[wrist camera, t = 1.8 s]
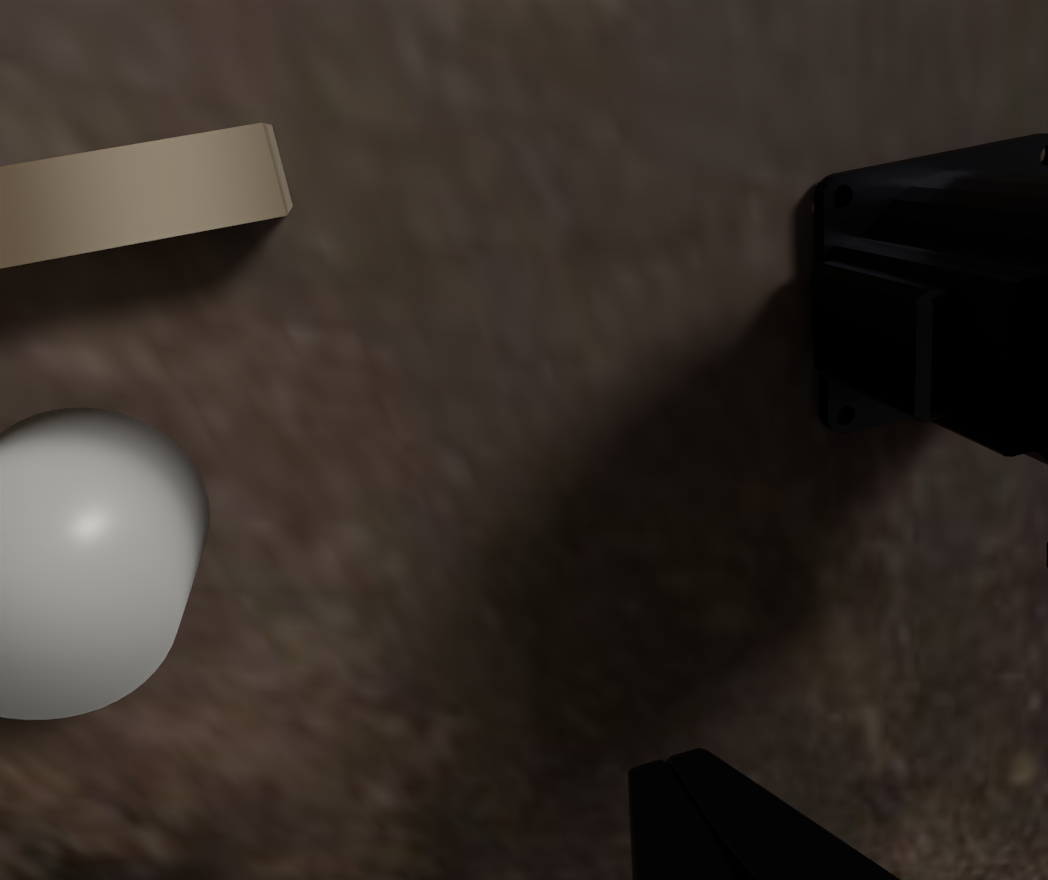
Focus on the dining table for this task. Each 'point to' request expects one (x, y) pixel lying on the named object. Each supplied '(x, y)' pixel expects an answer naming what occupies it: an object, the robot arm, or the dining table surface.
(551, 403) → the dining table surface
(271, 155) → the oak rail
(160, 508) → the grey egg-shaped dome
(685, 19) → the dining table surface
